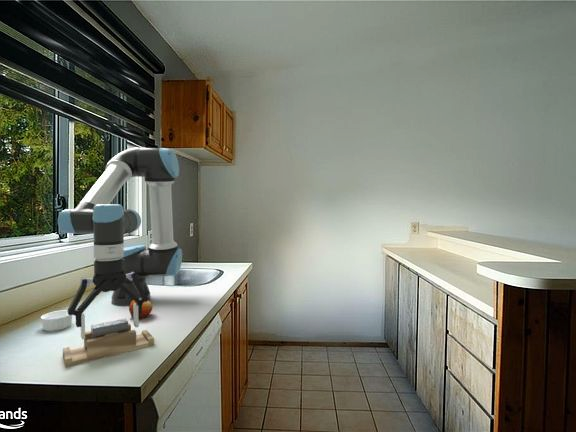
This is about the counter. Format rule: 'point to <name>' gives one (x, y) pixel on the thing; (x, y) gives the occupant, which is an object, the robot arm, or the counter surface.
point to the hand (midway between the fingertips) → (110, 331)
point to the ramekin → (56, 320)
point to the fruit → (146, 309)
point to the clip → (109, 328)
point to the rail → (107, 346)
